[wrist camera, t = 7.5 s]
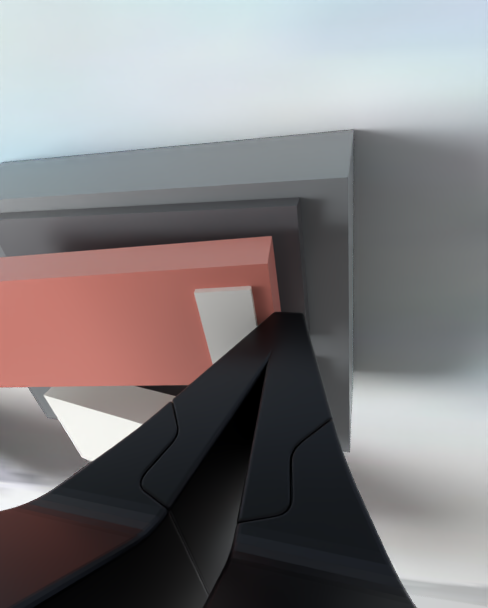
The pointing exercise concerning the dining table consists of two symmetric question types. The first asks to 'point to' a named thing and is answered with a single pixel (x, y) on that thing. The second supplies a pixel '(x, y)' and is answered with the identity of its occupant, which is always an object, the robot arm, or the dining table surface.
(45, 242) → the rocker switch panel
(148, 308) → the red rocker
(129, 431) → the white rocker
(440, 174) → the dining table surface
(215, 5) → the dining table surface
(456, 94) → the dining table surface
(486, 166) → the dining table surface
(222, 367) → the robot arm
